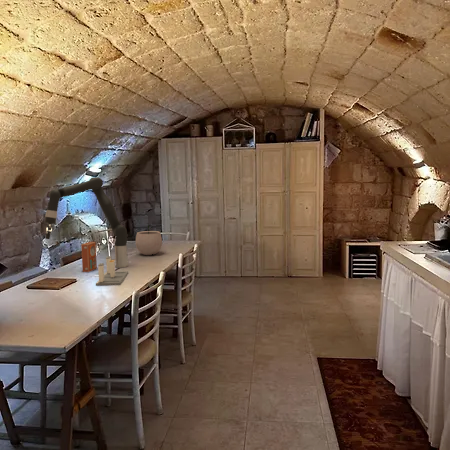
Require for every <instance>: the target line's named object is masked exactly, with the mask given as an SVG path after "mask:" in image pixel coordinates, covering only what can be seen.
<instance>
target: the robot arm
mask: <svg viewBox="0 0 450 450" xmlns="http://www.w3.org/2000/svg"><path fill="white" fill-rule="evenodd" d="M103 187H104V181H103V179H102V178H101V177H98V176H94V177H91V178H90V179H89V180H87V181H84V182H80V183H75V184H71V185H66V186H64V187H62V188H57V189H53V190H51V191H50V192H49V193H48V197H49V198H48V199H49V200H48V204H47V208H46V212H45V217H44V218H45V219H44V224H47V225H46V228H45V239H46V240H50V237H51V234H52V231H53V225H56V223H57V217H58V216H57V215H58V208H59V207H58V206H59V204H60V199H62V198H64V197H70V196H72V195H76V194H79V193H82V192H86V191H90V190H91V191H92V192H93V194H94V195H95V197H96V199H97V202H98V204H99V206H100V208H101V210H102V212H103V214H104V216H105V218H106V219H107V221H108V223H109V225H110V227H111V231H112V233H113V235H114V236H115V237H114V238H115V241H114V258H115V268H118V269H119V268H121V269H122V268H127V267H128V266H129V262H128V261H129V259H128V249H127V243H128V230H127V228H126V227H125V226H124V225H122V224H121V223H120V221H119V219H118V215H117V210H116V208H115V205H114V204H113V202H112V200H111V199H110V197H108V195H107V194H106V192H105V191H104V188H103Z"/></svg>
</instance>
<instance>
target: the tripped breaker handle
mask: <svg viewBox="0 0 450 450" xmlns="http://www.w3.org/2000/svg"><path fill="white" fill-rule="evenodd" d="M115 272H116V264H115V259H112V258H111V260H110V278H111V277H115Z"/></svg>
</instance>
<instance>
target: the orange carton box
mask: <svg viewBox="0 0 450 450" xmlns="http://www.w3.org/2000/svg"><path fill="white" fill-rule="evenodd" d="M96 243H97V242H96V241H88V242H85V243H81V246H80V247H81V248H80V249H81V264H82V266H81V267H82V272H83V273H89V272H93V271H94V270H95V271H96V270H98V263H97V260H98V259H97V246H96Z"/></svg>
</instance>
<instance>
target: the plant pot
mask: <svg viewBox="0 0 450 450" xmlns="http://www.w3.org/2000/svg"><path fill="white" fill-rule="evenodd" d="M150 226H151V224H149V223H147V231H146V230H145V231H138V232H136V236H135V247H136V249H137V250H138V252H139V253H141V254H142V255H145V256H152V254H153V255H155V254H156V255H157V253H158V252H159V251H160V250H161V248H162V244H163V238H162V234H161V231H157V230H151V229H153V226H151V227H150Z"/></svg>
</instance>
